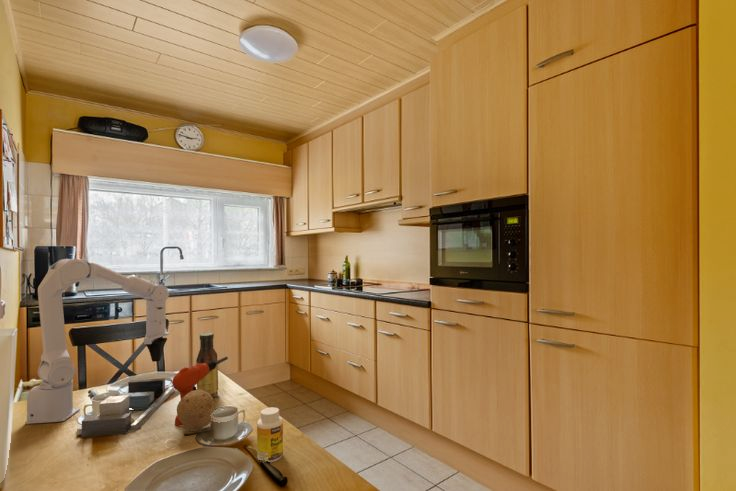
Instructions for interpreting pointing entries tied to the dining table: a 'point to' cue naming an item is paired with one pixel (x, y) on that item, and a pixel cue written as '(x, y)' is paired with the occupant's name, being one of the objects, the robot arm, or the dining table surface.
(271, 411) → the supplement bottle
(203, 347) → the sauce bottle
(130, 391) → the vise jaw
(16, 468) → the dining table surface
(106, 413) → the steel block
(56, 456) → the dining table surface
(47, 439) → the dining table surface
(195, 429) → the natural sponge
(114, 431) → the vise base
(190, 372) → the toy drill
